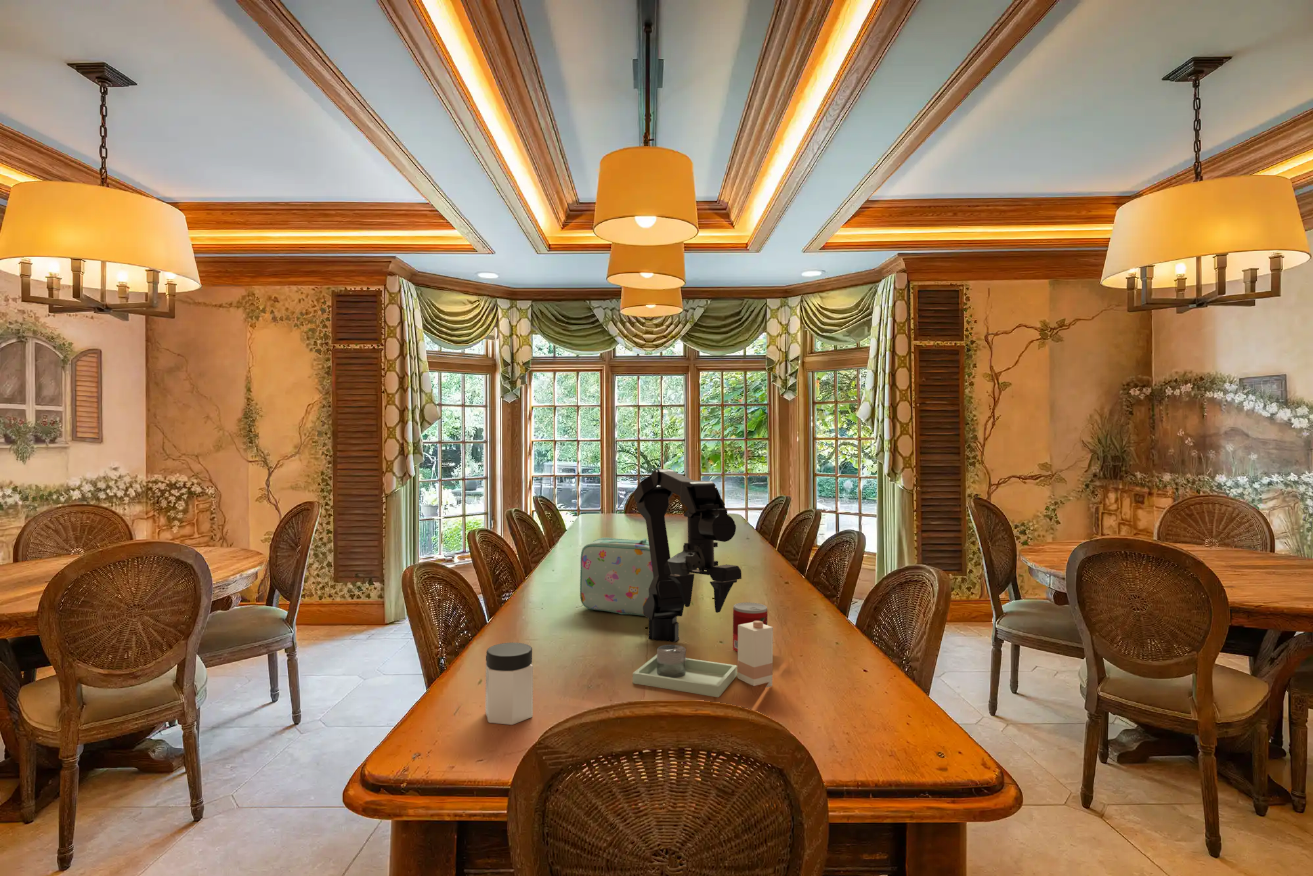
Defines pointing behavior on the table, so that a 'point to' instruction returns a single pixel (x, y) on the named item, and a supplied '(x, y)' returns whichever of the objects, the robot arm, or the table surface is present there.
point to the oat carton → (755, 653)
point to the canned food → (747, 617)
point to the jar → (509, 683)
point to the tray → (689, 677)
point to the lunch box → (616, 575)
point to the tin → (671, 661)
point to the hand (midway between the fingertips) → (702, 609)
